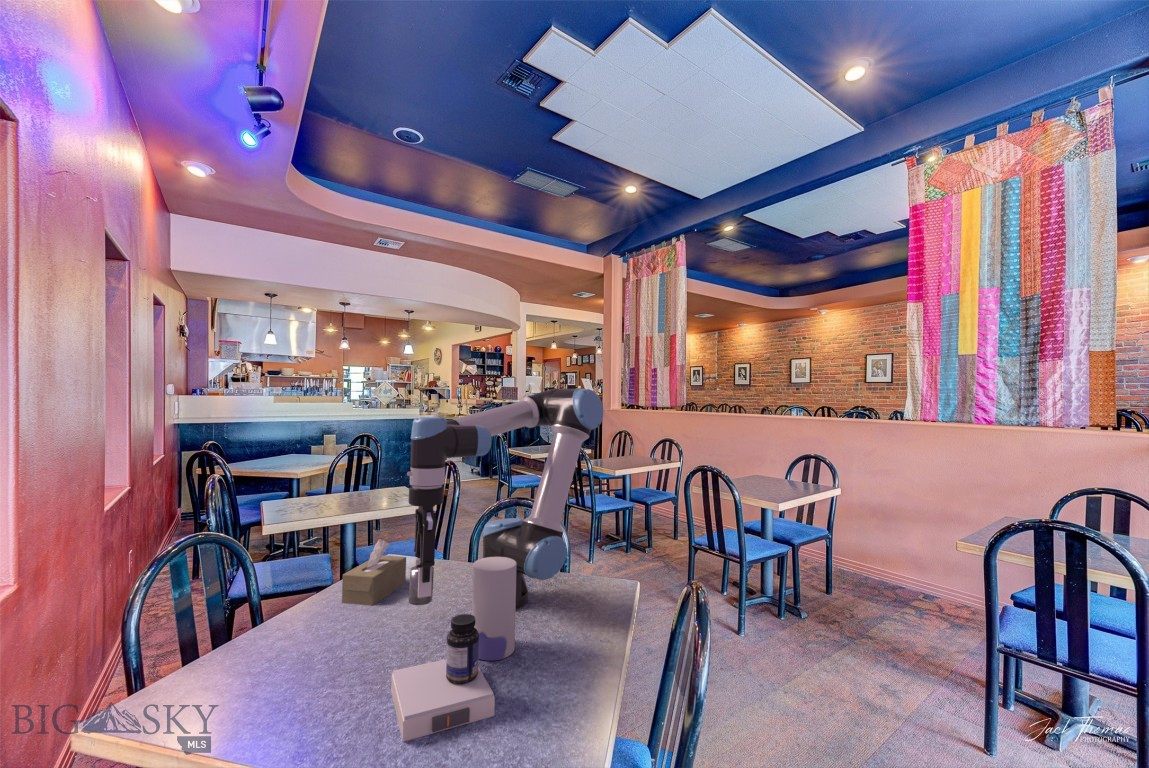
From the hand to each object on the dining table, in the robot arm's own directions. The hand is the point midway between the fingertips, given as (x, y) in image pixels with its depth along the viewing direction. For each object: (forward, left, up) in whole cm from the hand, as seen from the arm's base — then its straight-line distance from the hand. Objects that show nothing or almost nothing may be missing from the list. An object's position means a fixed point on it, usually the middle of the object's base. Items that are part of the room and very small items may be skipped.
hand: (422, 591), depth 108 cm
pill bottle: (-5, +17, -11) cm, 21 cm away
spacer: (0, 0, -2) cm, 2 cm away
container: (-16, +2, -15) cm, 22 cm away
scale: (-1, +17, -15) cm, 23 cm away
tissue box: (+5, -46, -16) cm, 48 cm away
